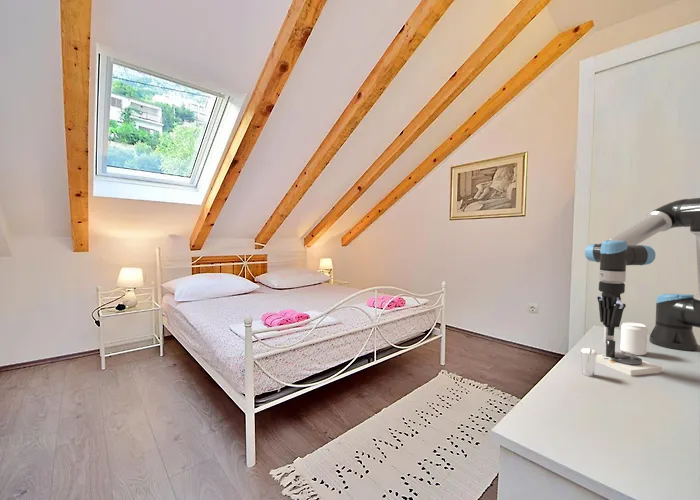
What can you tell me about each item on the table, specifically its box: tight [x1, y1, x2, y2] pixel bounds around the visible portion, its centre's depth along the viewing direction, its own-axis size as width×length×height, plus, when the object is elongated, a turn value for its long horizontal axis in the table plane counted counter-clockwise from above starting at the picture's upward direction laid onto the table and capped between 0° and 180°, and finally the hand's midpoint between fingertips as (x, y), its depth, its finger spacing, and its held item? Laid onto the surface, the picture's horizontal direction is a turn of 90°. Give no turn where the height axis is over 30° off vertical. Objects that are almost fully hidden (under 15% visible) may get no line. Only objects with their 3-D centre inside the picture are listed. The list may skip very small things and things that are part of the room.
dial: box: [605, 340, 643, 365], centre depth 118 cm, size 11×9×7 cm
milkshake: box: [580, 347, 598, 377], centre depth 110 cm, size 4×5×10 cm
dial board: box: [596, 353, 663, 377], centre depth 118 cm, size 14×14×2 cm
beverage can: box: [619, 321, 648, 356], centre depth 132 cm, size 8×8×12 cm
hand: (608, 343), depth 120 cm, fingers closed
